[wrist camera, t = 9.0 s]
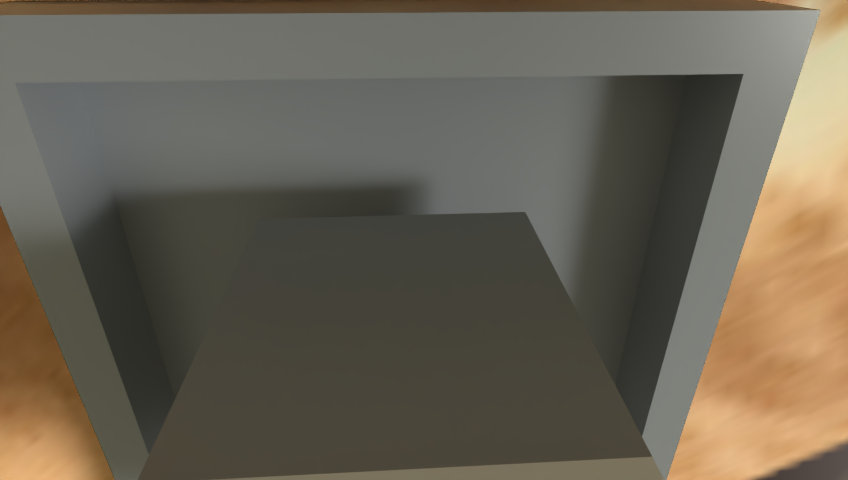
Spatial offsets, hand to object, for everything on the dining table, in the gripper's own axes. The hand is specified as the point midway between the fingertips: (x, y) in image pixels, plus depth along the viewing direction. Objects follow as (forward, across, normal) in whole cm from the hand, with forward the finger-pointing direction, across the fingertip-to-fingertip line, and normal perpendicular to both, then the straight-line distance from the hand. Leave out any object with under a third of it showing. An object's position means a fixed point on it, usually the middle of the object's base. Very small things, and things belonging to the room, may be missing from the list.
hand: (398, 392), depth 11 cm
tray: (+3, 0, 0) cm, 3 cm away
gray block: (+1, 0, 0) cm, 1 cm away
